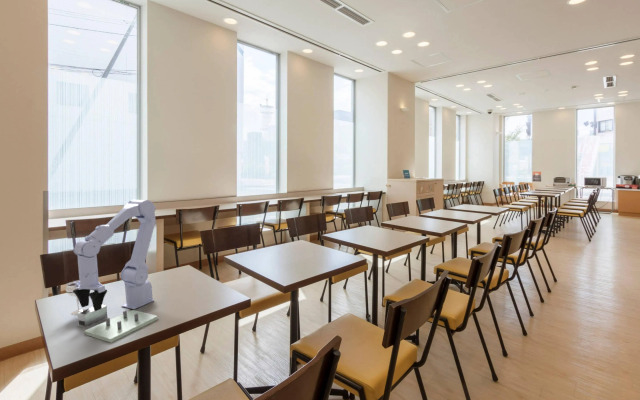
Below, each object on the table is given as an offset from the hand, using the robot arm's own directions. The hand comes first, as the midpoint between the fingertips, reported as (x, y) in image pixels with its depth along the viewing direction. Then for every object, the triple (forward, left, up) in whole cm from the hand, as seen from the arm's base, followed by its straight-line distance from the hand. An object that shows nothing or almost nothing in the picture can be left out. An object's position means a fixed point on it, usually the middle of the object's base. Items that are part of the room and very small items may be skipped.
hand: (91, 308), depth 122 cm
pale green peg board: (-2, +14, -5) cm, 15 cm away
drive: (0, 0, -6) cm, 6 cm away
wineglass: (-3, -14, -6) cm, 15 cm away
